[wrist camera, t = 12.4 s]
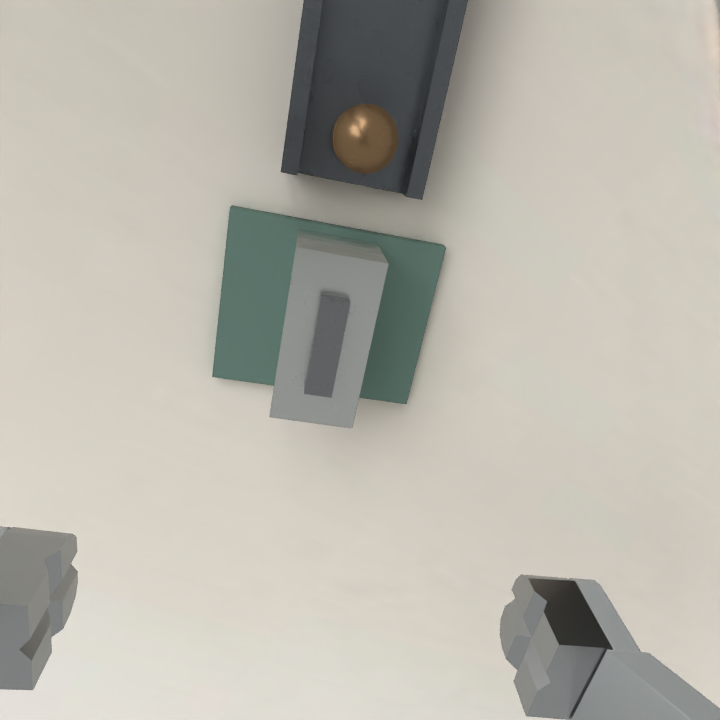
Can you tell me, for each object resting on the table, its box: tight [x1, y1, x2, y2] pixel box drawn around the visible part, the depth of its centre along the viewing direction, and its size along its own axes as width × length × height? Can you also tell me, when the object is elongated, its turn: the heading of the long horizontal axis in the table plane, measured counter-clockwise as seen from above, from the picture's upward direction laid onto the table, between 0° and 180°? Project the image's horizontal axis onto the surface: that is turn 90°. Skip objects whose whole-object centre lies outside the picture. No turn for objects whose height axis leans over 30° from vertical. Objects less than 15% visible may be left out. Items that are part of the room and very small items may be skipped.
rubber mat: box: [212, 206, 446, 404], centre depth 33 cm, size 10×12×1 cm
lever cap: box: [270, 229, 388, 428], centre depth 30 cm, size 9×4×6 cm, turn 169°
